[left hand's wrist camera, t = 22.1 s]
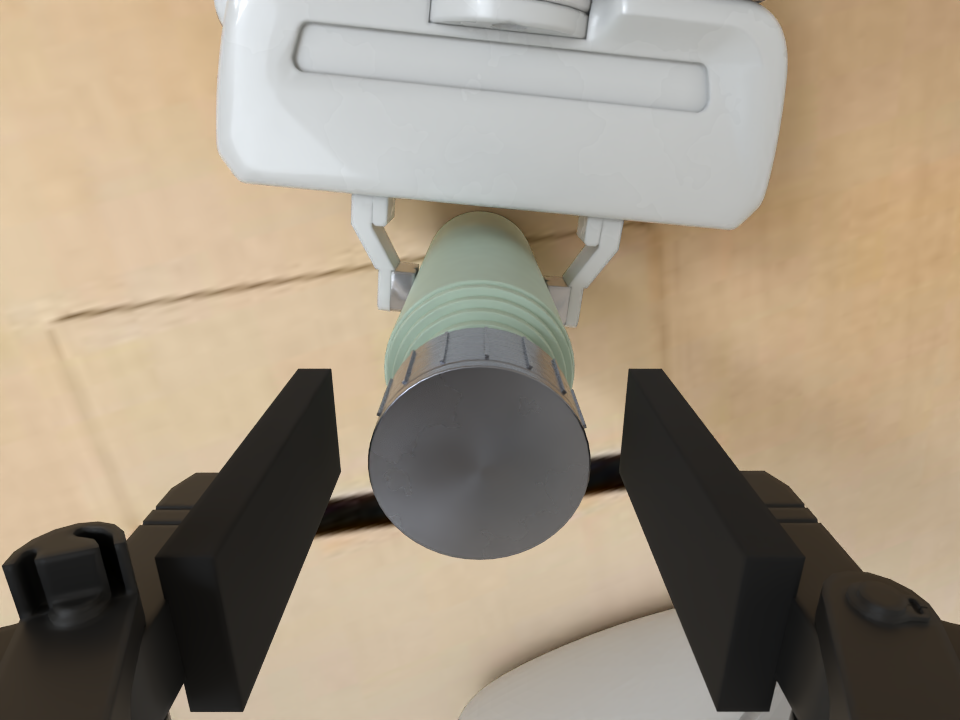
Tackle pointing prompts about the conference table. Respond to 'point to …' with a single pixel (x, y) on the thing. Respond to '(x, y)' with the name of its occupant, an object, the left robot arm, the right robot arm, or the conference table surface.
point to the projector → (613, 680)
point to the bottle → (479, 291)
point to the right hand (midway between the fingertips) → (478, 315)
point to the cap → (479, 446)
